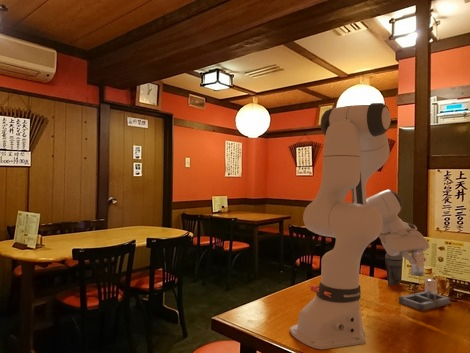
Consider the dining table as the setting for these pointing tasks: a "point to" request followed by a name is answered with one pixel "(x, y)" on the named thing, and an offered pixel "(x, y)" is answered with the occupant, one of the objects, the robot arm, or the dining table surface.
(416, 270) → the billet
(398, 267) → the beverage cup
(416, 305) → the grey divided tray
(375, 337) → the dining table surface
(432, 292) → the billet
